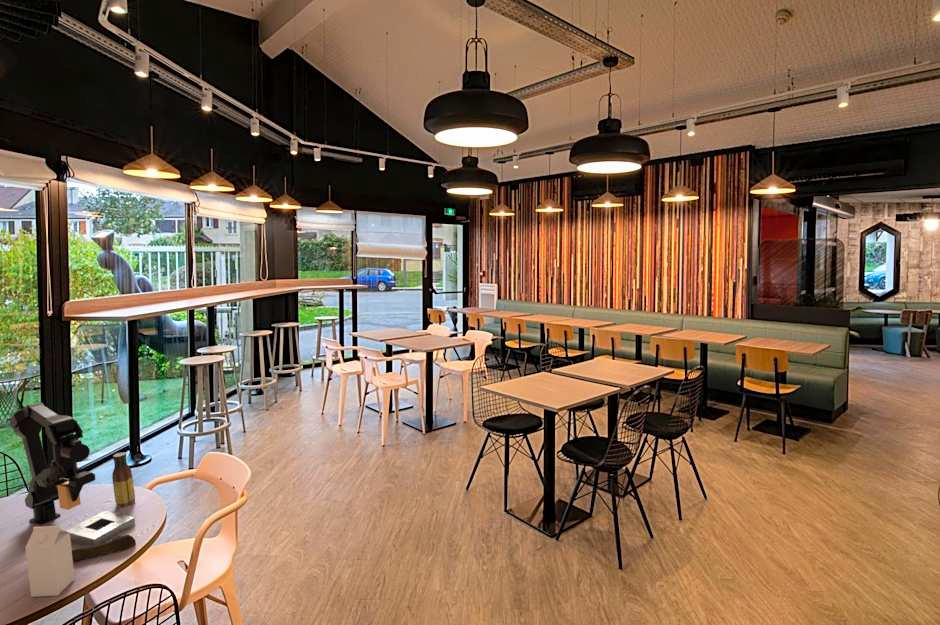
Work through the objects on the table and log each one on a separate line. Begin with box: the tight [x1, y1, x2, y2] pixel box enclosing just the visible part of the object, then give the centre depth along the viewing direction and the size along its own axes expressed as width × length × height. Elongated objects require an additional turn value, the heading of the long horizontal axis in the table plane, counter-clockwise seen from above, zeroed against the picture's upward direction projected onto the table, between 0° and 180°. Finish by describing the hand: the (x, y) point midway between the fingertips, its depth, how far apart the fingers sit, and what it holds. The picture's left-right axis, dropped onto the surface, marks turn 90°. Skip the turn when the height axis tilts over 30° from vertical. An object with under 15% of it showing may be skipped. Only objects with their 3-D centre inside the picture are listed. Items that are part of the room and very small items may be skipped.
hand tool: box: [71, 534, 137, 562], centre depth 164 cm, size 19×4×5 cm, turn 117°
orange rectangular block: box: [57, 481, 81, 510], centre depth 173 cm, size 4×4×8 cm
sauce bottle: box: [111, 452, 136, 508], centre depth 194 cm, size 7×6×20 cm
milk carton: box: [25, 525, 76, 598], centre depth 147 cm, size 7×7×19 cm
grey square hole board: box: [65, 510, 136, 547], centre depth 177 cm, size 14×14×3 cm
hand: (69, 500), depth 174 cm, fingers closed on orange rectangular block, 4 cm apart
